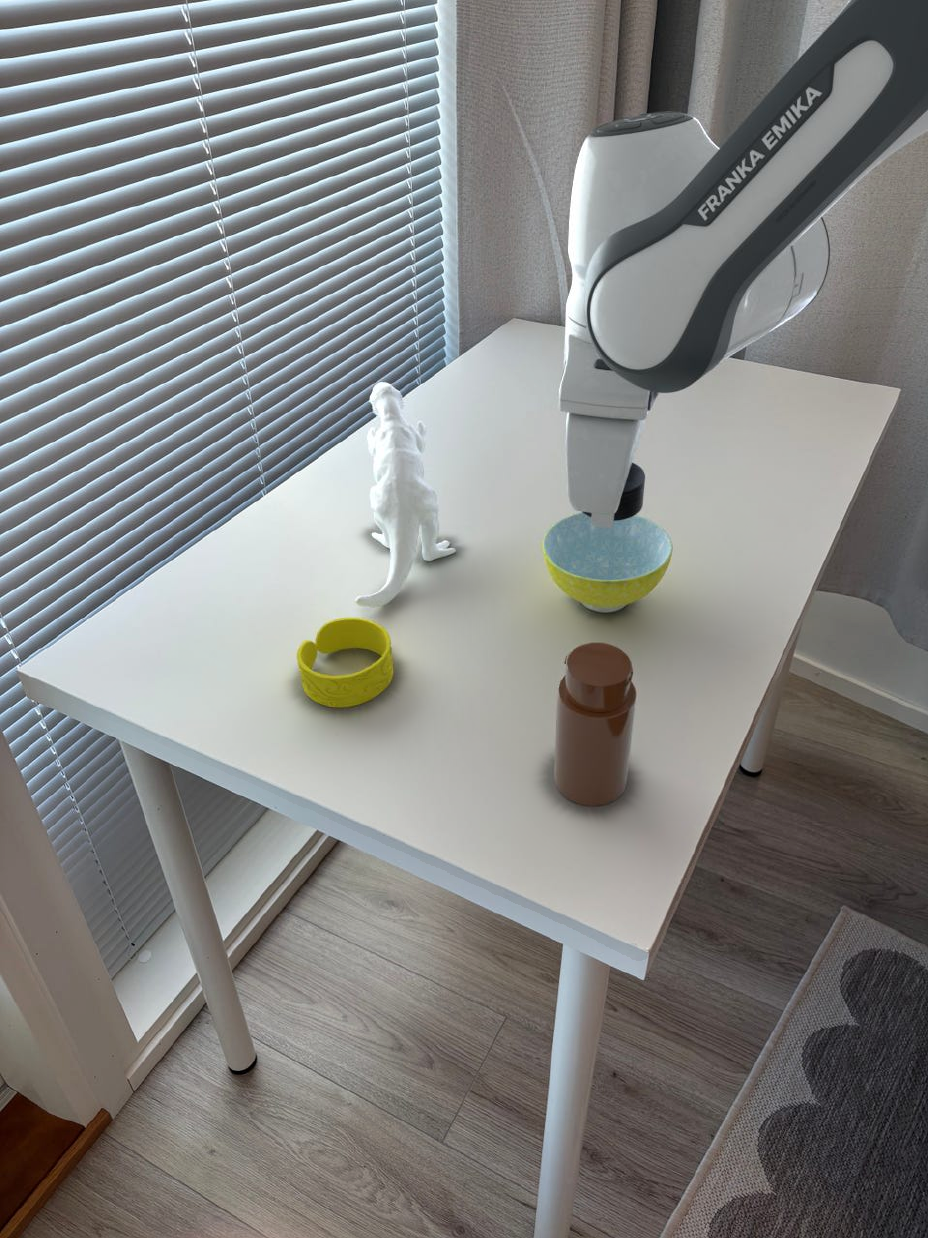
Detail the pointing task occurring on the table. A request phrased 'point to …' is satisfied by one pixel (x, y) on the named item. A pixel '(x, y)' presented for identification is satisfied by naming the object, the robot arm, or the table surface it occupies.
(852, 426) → the table surface
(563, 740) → the jar
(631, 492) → the lid
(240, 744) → the table surface
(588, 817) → the table surface
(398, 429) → the dinosaur figurine
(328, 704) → the bracelet
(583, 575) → the bowl
